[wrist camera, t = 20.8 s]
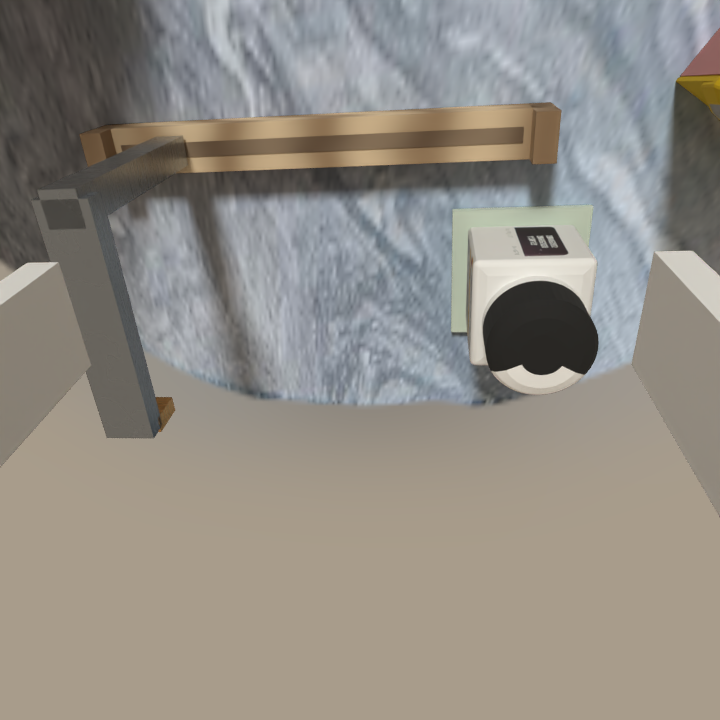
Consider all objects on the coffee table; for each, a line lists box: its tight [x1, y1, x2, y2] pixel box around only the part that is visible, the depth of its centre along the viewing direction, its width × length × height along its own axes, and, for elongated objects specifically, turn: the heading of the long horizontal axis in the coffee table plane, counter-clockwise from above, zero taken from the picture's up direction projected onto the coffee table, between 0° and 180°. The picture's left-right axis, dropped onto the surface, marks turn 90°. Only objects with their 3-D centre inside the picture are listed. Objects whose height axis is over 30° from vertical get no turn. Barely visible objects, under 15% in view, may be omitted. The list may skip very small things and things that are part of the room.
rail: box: [79, 102, 561, 173], centre depth 43 cm, size 32×3×4 cm, turn 94°
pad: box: [451, 205, 593, 332], centre depth 48 cm, size 10×10×1 cm
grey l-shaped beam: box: [31, 136, 188, 438], centre depth 40 cm, size 3×15×15 cm, turn 4°
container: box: [466, 225, 598, 395], centre depth 42 cm, size 8×8×13 cm
